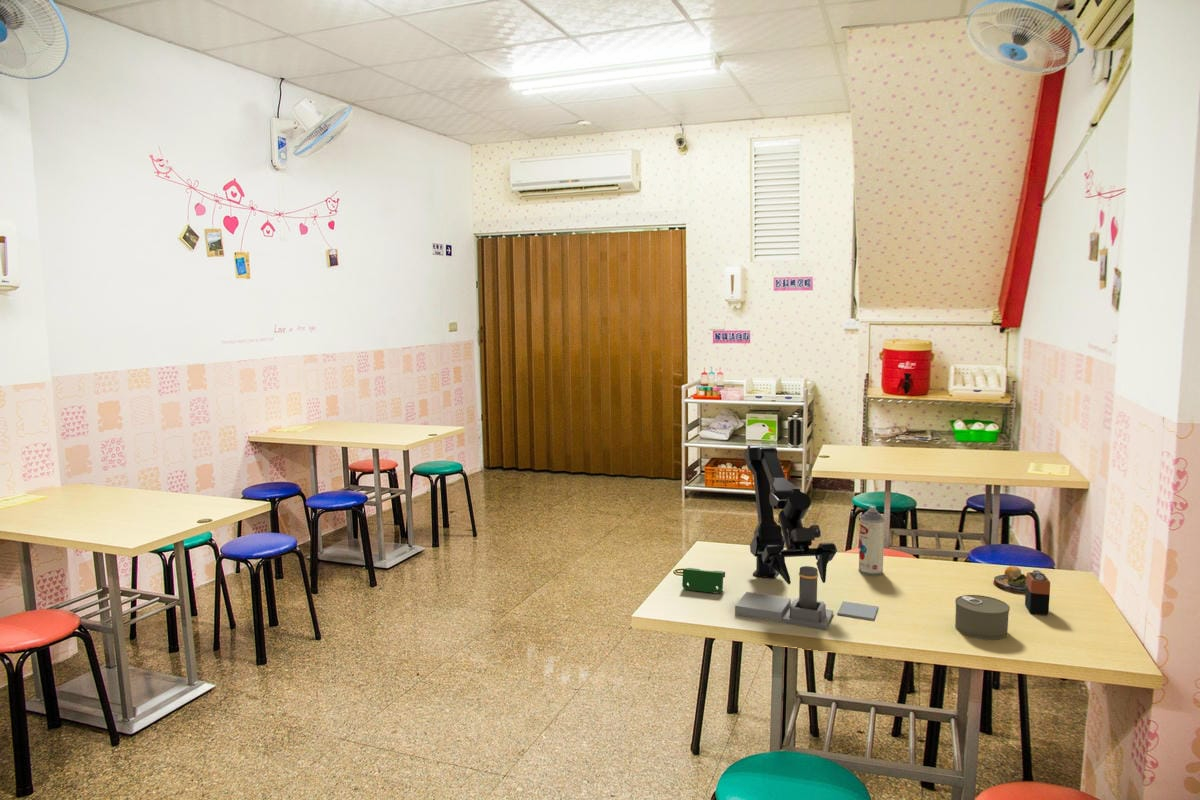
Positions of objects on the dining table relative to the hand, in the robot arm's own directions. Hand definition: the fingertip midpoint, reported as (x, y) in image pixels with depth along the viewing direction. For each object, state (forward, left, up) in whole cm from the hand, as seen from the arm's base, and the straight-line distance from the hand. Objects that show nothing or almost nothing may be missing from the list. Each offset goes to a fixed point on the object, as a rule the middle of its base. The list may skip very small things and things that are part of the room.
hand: (807, 583), depth 202 cm
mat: (-9, +11, -9) cm, 17 cm away
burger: (-47, +49, -9) cm, 69 cm away
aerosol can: (-43, +10, -9) cm, 45 cm away
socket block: (+1, -6, -9) cm, 11 cm away
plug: (+1, 0, -9) cm, 9 cm away
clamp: (-9, -30, -9) cm, 33 cm away
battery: (-29, +53, -9) cm, 62 cm away
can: (-9, +40, -9) cm, 43 cm away
